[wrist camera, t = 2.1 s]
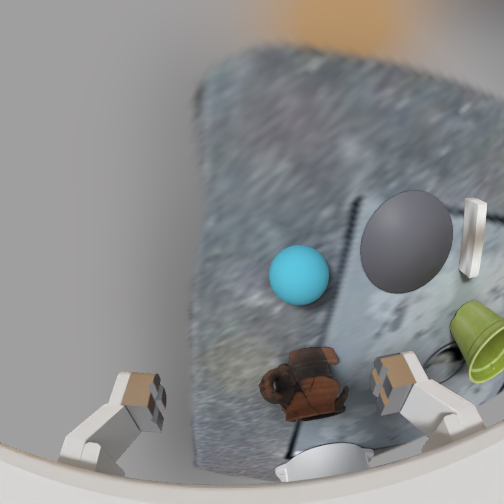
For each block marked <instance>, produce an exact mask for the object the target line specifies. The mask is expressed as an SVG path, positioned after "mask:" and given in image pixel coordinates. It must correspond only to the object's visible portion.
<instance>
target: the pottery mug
mask: <svg viewBox="0 0 504 504" xmlns="http://www.w3.org/2000/svg"><path fill="white" fill-rule="evenodd" d="M330 364H335V365H336V364H338V358H337V356H336V354H335V352H334V350H333V348H330V347H315V348H313V347H310V348H304V349H299V350H296V351H293V352H291V353H290V354H289V365H288V366H286V365H285V364H281V365H279V366H278V368H276V369H273V370H270V371H268V372H267V373H266V374H265V375H264V376H263V378H262V380H261V383H260V384H259V387H260V392H261V395H262V396H263V398H264V399H265V400H266V401H268V402H270V403H273V404H280V405H281V406H283V407H282V411H284V412H285V413H286V421H289V422H295V421H296V419H301V421H310V420H316V419H321V418H326V417H330V416H334V415H337V414H341V413H342V412H344V411H345V408H346V407H345V406H344V405H343V404H344V402H345V400H346V399H347V396H348V391H349V388H348V387H347V386H345V387H344V389H343V392H342V393H341V395H340V396H339V397H338V398H337V394H338V392H339V388H340V386H339V383H338V382H337V380H335V379H333V376H332V373H331V371H330V368H329V366H328V365H330ZM274 381H276V391H275V390H274V387H273V383H274ZM297 383H298V384H299V386H300V388H301V391H297V392H295V390H294V387H295V385H296V384H297ZM286 406H287V407H286Z"/></svg>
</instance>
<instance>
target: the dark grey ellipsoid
mask: <svg viewBox="0 0 504 504" xmlns="http://www.w3.org/2000/svg"><path fill="white" fill-rule="evenodd" d="M452 240H453V225H452V220H451V217H450V214H449V212H448V210H447V208H446V207H445V205H444V204H443V203H442V202H441V201H440V200H439V199H438V198H437V197H435V196H434V195H432V194H430V193H427V192H424V191H418V190H411V191H405V192H402V193H399V194H397V195H395V196H393V197H391V198H389V199H388V200H386V201H385V202H384V203H383V204H382V205H381V206H380V207H379V208H378V209H377V210H376V211H375V212H374V214H373V215H372V217H371V218H370V220H369V222H368V223H367V225H366V228H365V230H364V233H363V237H362V241H361V251H360V254H361V262H362V266H363V269H364V271H365V273H366V275H367V277H368V278H369V279H370V281H371V282H372V283H373V284H374V285H375V286H377V287H378V288H380V289H382V290H384V291H386V292H390V293H406V292H410V291H413V290H416V289H418V288H420V287H422V286H424V285H425V284H426V283H428V282H429V281H430V280H431V279H433V278H434V277H435V276H436V274H437V273H438V272H439V271H440V270H441V268H442V267H443V265H444V263H445V262H446V260H447V258H448V255H449V252H450V250H451V246H452Z"/></svg>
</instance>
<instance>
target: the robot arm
mask: <svg viewBox="0 0 504 504" xmlns="http://www.w3.org/2000/svg"><path fill="white" fill-rule="evenodd" d="M374 366H375V369H374V370H373V371H372V372H371V375H370V386H371V390H372V393H373V394H374V395H375V396H376V397H378V398H377V401H376V405H377V407H378V410H379V413H380V416H382V415H387V414H392V413H397V412H400V413H401V414H402V415H403V416H404V417H405V418H406V419H408V420H409V421H410V422H411V423H412V424H413V425H414V426H416V427H417V428H418V429H419V430H420V431H421V432H423V433H424V434H425V435H426V436H427V437H428V438H429V439H428V441H427V442H426V443H425V445H424V446H423V448H422V454H419V455H416V456H412V457H409V458H406V459H402V460H399V461H395V462H392V463H388V464H384V465H380V466H376V467H372V468H369V462H370V460H371V459H372V457H373V456H374V451H373V449H364V448H361V447H359V446H357V445H355V444H350V443H335V444H328V445H323V446H319V447H315V448H312V449H309V450H307V451H304V452H302V453H300V454H298V455H297V456H295V457H294V458H292V459H291V460H290V461H289V462H287V463H286V464H283V465H281V466H278V467H276V468H275V473H276V475H277V476H278V477H279V479H280V480H281V481H282V482H278V483H265V484H244V485H203V484H202V485H201V484H183V483H169V482H159V481H150V480H141V479H135V478H127V477H125V472H124V471H123V470H122V469H121V468H120V467H119V466H118V465H117V464H116V463H115V462H116V461H117V460H118V459H119V458H120V456H121V455H122V454H123V453H124V452H125V451H126V449H127V448H128V447H129V446H130V445H131V444H132V443H133V441H134V440H135V439H136V438H137V437H138V436H139V434H140V433H141V432H140V431H142V432H160V433H161V431H162V425H163V420H164V418H163V416H162V414H161V413H162V412H163V411H164V410H165V408H166V392H165V389H164V387H163V386H162V385H160V380H161V379H160V377H159V375H158V374H152V373H137V372H120V373H119V374H118V377H117V379H116V382H115V385H114V388H113V391H112V394H111V397H110V400H109V403H108V404H104V405H103V406H102V407H101V408H99V409H98V410H97V411H96V412H94V413H93V414H92V415H91V416H90V417H89V418H87V419H86V420H85V421H84V422H83V423H81V424H80V425H79V426H78V427H77V428H75V429H74V430H73V431H72V432H71V433H69V434H68V435H67V436H66V438H65V441H64V444H63V447H62V450H61V453H60V456H59V459H58V462H55V461H52V460H48V459H45V458H42V457H39V456H36V455H33V454H30V453H27V452H24V451H21V450H18V449H16V448H13V447H10V446H8V445H5V444H3V443H1V442H0V504H504V420H502V421H500V422H498V423H496V424H494V425H492V426H489V427H487V428H486V427H485V425H484V423H483V422H482V420H481V418H480V416H479V414H478V412H477V410H476V408H475V406H474V405H473V404H471V403H470V402H468V401H466V400H465V399H463V398H462V397H460V396H458V395H457V394H455V393H453V392H452V391H450V390H449V389H447V388H445V387H444V386H442V385H440V384H439V383H437V382H436V381H434V380H432V379H431V380H429V379H428V377H427V376H426V374H425V372H424V370H423V368H422V366H421V364H420V362H419V361H418V359H417V357H416V355H415V353H414V352H413V351H407V352H402V353H396V354H391V355H386V356H381V357H377V358H376V359H375V362H374Z"/></svg>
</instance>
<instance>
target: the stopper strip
mask: <svg viewBox="0 0 504 504" xmlns="http://www.w3.org/2000/svg"><path fill="white" fill-rule="evenodd" d="M486 210H487V203H485V202H483V201H481V200H479V199H476V198H465V212H464V226H463V237H462V247H461V255H460V263H459V270H460V271H461V272H463V273H464V274H465V275H466V276H467V277H468V278H472V277H476V276H478V273H479V268H480V261H481V255H482V248H483V240H484V232H485V222H486Z"/></svg>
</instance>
